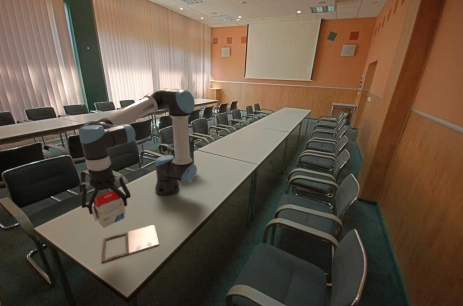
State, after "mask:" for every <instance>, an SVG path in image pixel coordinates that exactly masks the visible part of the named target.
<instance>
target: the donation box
mask: <svg viewBox="0 0 463 306" xmlns="http://www.w3.org/2000/svg"><path fill="white" fill-rule="evenodd" d="M166 151H167V155H172V156H174V158H175V151H174V143H171V144H168V146H166ZM189 152H190V157H191V158H192V162H193V164H195V156H194V155H195V153H194V152H195V138H194V137H193V136H190V135H189Z"/></svg>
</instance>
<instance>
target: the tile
mask: <svg viewBox="0 0 463 306" xmlns="http://www.w3.org/2000/svg"><path fill="white" fill-rule="evenodd" d="M127 232H128V242H129V255H131V254H135V253H139V252H140V251H144V250H148V249H150V248H154V247H157V246H160V243H159V239H158V235H157V230H156V226H155V224H152V225H147V226H145V227H141V228H137V229H133V230H129V231H127Z"/></svg>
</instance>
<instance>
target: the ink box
mask: <svg viewBox="0 0 463 306" xmlns="http://www.w3.org/2000/svg"><path fill="white" fill-rule="evenodd" d="M118 189H119V188H118ZM118 189H117V190H118ZM93 204H94V206H95V210H96V214H97V217H98V220H97V222H98V224H99V225H100V226H101V227H102V228H103V229H105V228H107V227H109V226H112V225H113V224H116V223H118V222H119V221H121V220H123V219H125V214H124V213H123V208H122V203H121V198H120V197H119V196H118V195H117V194H116V193H115V192H114V191H113V190H110V191H108V192H106V193H103V194H100V195H96V197H95V200H94V202H93Z"/></svg>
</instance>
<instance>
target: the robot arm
mask: <svg viewBox="0 0 463 306" xmlns="http://www.w3.org/2000/svg"><path fill="white" fill-rule="evenodd" d="M195 102H196V101H195V97H194V96H193V94H192V93H191V92H190V91H188V90H186V89H182V88H181V89H180V88H179V89H178V88H166V87H165V88H160V89H157V90H154V91H152V92H150V93H148V94H146V95H144V96H143V98H142V99H140V100H137V101H136V102H133V103H132V104H130V105H127V106H126V107H123V108H121V109H119V110H117V111H115V112H113V113H111V114H109V115H107V116H105V117H103V118H100V119H98V120H96V121H95V120H89V121H87V122H85V123H84V124H83V125H82V127H80V128H79V129H78V136H79V141H80V144H81V148H82V152H83V155H84V159H85V164H86V167H87V169H88V170H87V172H88V176H89V179H90V180H89V181H82V183H81V186H80V187H81V189H82V196H81V197H82V198H81V208H82V209H85V208H86V209H88V213H89V214H90V215H93V218H94V222H98V217H97V214H96V210H95V206H94V203H93V202H94V200H95V199H96V197H97V196H98V193H99V191H103V190H109V189H110V191H114V192H115V193H116V194H117V195H118V196H119V197H120V198H121V203H122V208H123V213H124V215H126V207H127V206H128V201H127V199H130V198H131V197H132V196H131V192H130V190H129V188H128V187H127V185H126V183H125V181H124V176H123V175H121V174H120V175H119V176H115V175H114V172H113V171H114V170H113V168H112V161H111V157H110V152H109V149H113V148H116V147H119V146H122V145H126V144H128V143H130V142H133V141H135V139H136V131H135V128H134V127H133V126H132V125H130V124H133V123H134V122H136V121H138V120H139V119H142V118H143V117H145V116H146V115H149V114H151V113H156V112H158V111H168V116H169V118H171V119H172V121H171V122H172V135H173V136H172V137H173V144H174V151H175V158H174V156H172V155H168V154H166V155H162V156H159V157H157V158H156V159H155V171H156V172H155V173H156V184H155V187H154V188H155V189H154V191H155V193H156V194H157V195H158V196H159V195H161V196H170V195H174V194H176V193H178V192H179V190H180V184H179V182H178V181H181V182H183V183H190V182H192V181H193V180H194V178H195V177H196V174H197V170H198V167H197V165H196V164H195V163H194V164H193V162H192V158H191V157H190V152H189V136H190V135H189V133H190V132H189V131H190V130H189V117H190V116H191V113H192V112H193V111H194V110H195V109H194V108H195V105H196V104H195ZM115 182H117V183H119V185H120V186H121V189H122V190H123V191H122V190H120V188H119V187H117V185H116V184H115ZM90 186H91V187H93V188H94V189H93V192H92V194H91V196H90V199H89V201H88V202H87V198H88V189H89V188H90ZM117 189H118V190H117Z"/></svg>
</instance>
